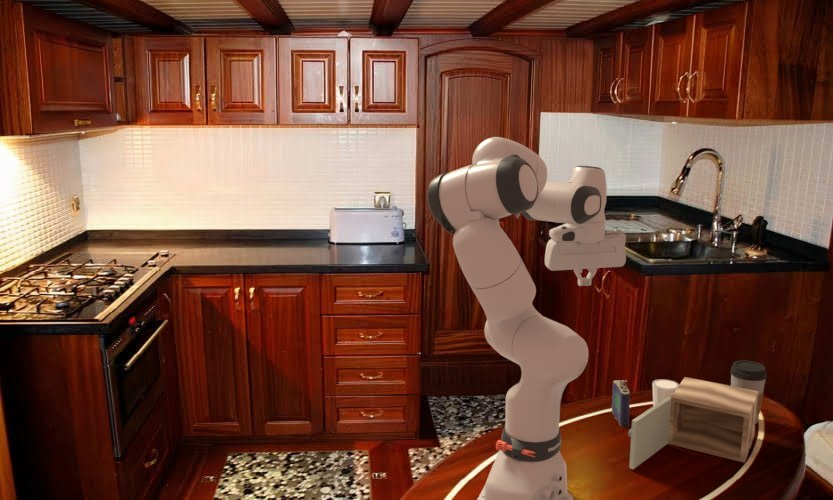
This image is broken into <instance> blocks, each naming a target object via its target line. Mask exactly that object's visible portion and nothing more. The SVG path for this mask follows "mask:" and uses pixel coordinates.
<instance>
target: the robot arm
mask: <svg viewBox="0 0 833 500" xmlns="http://www.w3.org/2000/svg"><path fill="white" fill-rule="evenodd" d="M471 163H472V164H469V165H467V166H463V167H460V168H457V169H455V170H452V171H446V172H444V173H441V174H439V175H438V176H436V177H434V178H433V179H432V180H430V183H429V185H428V188H427V193H426V203H427V207H428V210H429V212H430V214H431V216H432V217H433V218H434V219H435V221H436V222H437V223H438V224H439V225H440V226H441V227H442V229H444V230H445V232H446V233H448V234H451V235H453V238H452V246H453V250H454V253H455V256H456V258H457V259H456V260H457V262H458V264H459V266H460V269H461V271H462V273H463V275H464V278H465V279H466V281H467V283H468V285H469V287H470V288H471V291H472V292H473V294H474V295H475V296H476V299H477V300H478V302H479V304H480V306H481V308H482V309H483V311H484V314H485V317H486V321H485V324H484V330H483V332H484V337H485V340H486V342H487V343H488V345H490V346H491V348H492V349H493V350H495V352H497V353H498V354H499V355H500V356H502V357H504V358H505V359H507V360H509V361H511V362H513V363H515V364H517V365H518V366H519V367H520V370H521V377H520V380H519V382H518V383H515V385H513V386H512V387H510V388H509V389H508V391H507V393H506V396H505V416H504V417H505V424H504V427H503V430H502V434H501V436H500V437H501V438H500V439H498V440H497V441H496V444H495V449H496V451H498V453H497V454H496V457H495V459H494V462H493V464H492V466H491V469H490V471H489V474H488V476H487V479H486V482H485V484H484V486H483V488H482V489H481V492H480V493H479V496H478V497H477V498H476V500H574V496H573V495H572V494H571V493H570V492H568V472H567V470H568V469H567V468H568V467H567V463H566V460H565V459H564V457H563V455H562V453H561V451H560V450H561V446H562V445H561V443H562V436H561V434H562V433H561V429H560V413H561V401H562V397H563V393H564V391H565V389H566V387H567V385H568V384H569V383H571V382H572V381H574V380H576V379H577V378H579V376H581V374H582V373H583V372H584V370H585V369H586V366H587V364H588V362H589V348H588V344H587V342H586V340H585V339H584V338H583V337H582V336H581V335H579V333H577V332H576V331H574V330H573V329H571V328H570V327H568V326H567V325H564V324H562V323H559V322H558V321H555V320H553V319H550V318H548V317H546V316H543V314H541V313H540V312H539V311H538V310H537V309H536V308H535V307H534V305H533V301H534V299H535V298H536V293H537V288H536V285H535V283H534V281H533V278H532V276H531V275H530V272H529V271H528V269H527V267H526V265H525V263H524V261H523V259H522V257H521V256H520V254H519V252H518V250H517V248H516V247H515V245H514V244H513V242H512V240H511V239H510V238H509V236H508V235H507V233H506V232H505V231H504V230H503V228H502V227H501V225H500V219H503V218H506V217H509V216H511V215H512V216H513V215H514V216H517V215H520V214H522V216H523V217H524V218H525V219H526V220H528V221H535V222H536V221H537V222H542V221H543V222H553V223H557V224H558V223H562V224H561V225H558V226H556V227H553V228H551V229H549V231H548V232H549V233H548V235H549V237H550V238H551V239H549V240H548V241H547V243H546V247H545V253H544V265H545V267H546V268H547V269H548V270H550V271H553V272H555V271H569V270H571V271H572V270H573V272H574V274H575V276H576V277H577V285H578V286H579V287H583V286H585V287H586V286H587V287H588V286H592V280H593V278H594V277H595V275H596V273H597V269H600V268H601V269H602V268H603V269H604V268H620V267H624V266H625V264H626V262H627V256H626V255H627V254H626V253H627V251H626V246H625V245H626V243H627V242H626V241H627V235H626V233H625V232H624V231H622V230H621V229H614V230H611V229H606V215H605V208H606V204H607V178H606V172H605V170H604V169H602V167H598V166H590V165H576V166H574V167H573V169H572V173H571V176H570V178H571V179H569V180H567V182H562V181H552V180H551V181H550V180H548V168H547V165H546V163H545V161H544V159H542V158H541V156H540V155H538V154H537V153H536V152H535V151H533V150H531V149H530V148H528V146H525V145H523V144H521V143H519V142H517V141H514V140H512V139H509V138H506V137H501V136H492V137H488V138H486V139H484V140H483V141H482V142H480V143H478V145H477V147H476V148H475V149H474V152H473V154H472V162H471ZM585 269H587V271H588V273H587V275H586V277H582V275H581V274H582V273H583V270H585Z"/></svg>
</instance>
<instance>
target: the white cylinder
mask: <svg viewBox="0 0 833 500" xmlns="http://www.w3.org/2000/svg"><path fill="white" fill-rule="evenodd" d="M679 384H680V383H678V382H677V381H675V380H670V379H666V378H665V379H663V378H662V379H660V378H659V379H655V380H653V381H652V383H651V385H652V403H653V404H652V407H653V406H655V405H656V404H658V403H659V402H661V401H662V400H664V399H665V398H667V397H669V398H671V396H672V395H673V393H674V392H675V390H676V389H677V387H678V386H679Z"/></svg>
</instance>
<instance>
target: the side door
mask: <svg viewBox="0 0 833 500" xmlns="http://www.w3.org/2000/svg"><path fill="white" fill-rule="evenodd" d="M670 412H671V398H669V397H667V398H665V399H664V400H662V401H661V402H659V403H658V404H656V405H655V406H653V405H652V406H651V407H650V408H648V409H647V410H645V411H644V412H642V413H641V414H639V415H638V416H636V417H635V418H633V419H632V420H631V428H629V430H628V433H627V435H628V437H629V438H630V447H629V448H630V451H629V464H628V465H629V466H628V467H629V468H628V469H631V470H634V469H636V468H637V467H639V466H640V465H641V464H642V463H644V462H645V461H647V460H648V459H650V458H651V457H652V456H654V454H656V453H657V452H659V450H661V449H663V448H664V447H665V446H667V445H669V444H668V440H669V426H670Z"/></svg>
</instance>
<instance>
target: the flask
mask: <svg viewBox="0 0 833 500" xmlns="http://www.w3.org/2000/svg"><path fill="white" fill-rule="evenodd" d="M626 383H628V381H627V380H626V379H625V380H623V379H622V380H620V379H619V380H618V379H617V380H613V381H612V397H611V398H612V401H611V414H612V415H613V417H614V419H615V420H617V422H618V425H619V426H620V427H622V428H629V427H630V404H631V401H630V400H631V392H630V389H629V387H628V386H627V384H626Z"/></svg>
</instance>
